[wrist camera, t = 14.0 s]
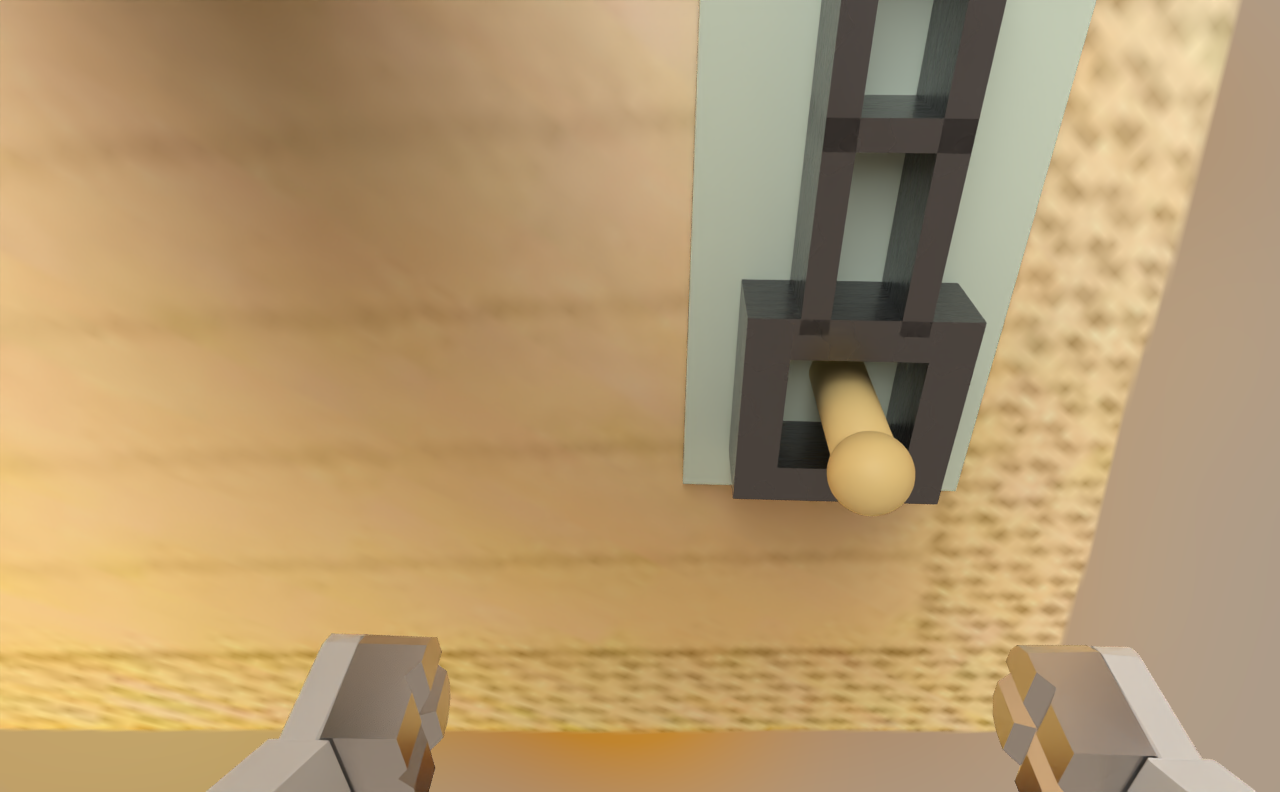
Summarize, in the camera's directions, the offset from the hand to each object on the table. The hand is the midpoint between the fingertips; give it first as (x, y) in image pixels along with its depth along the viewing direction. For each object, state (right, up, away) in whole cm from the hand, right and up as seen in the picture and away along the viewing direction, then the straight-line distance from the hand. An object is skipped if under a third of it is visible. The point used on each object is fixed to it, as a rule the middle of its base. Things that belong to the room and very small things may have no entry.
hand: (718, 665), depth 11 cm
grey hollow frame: (+7, +10, +16) cm, 20 cm away
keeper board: (+7, +10, +17) cm, 21 cm away
